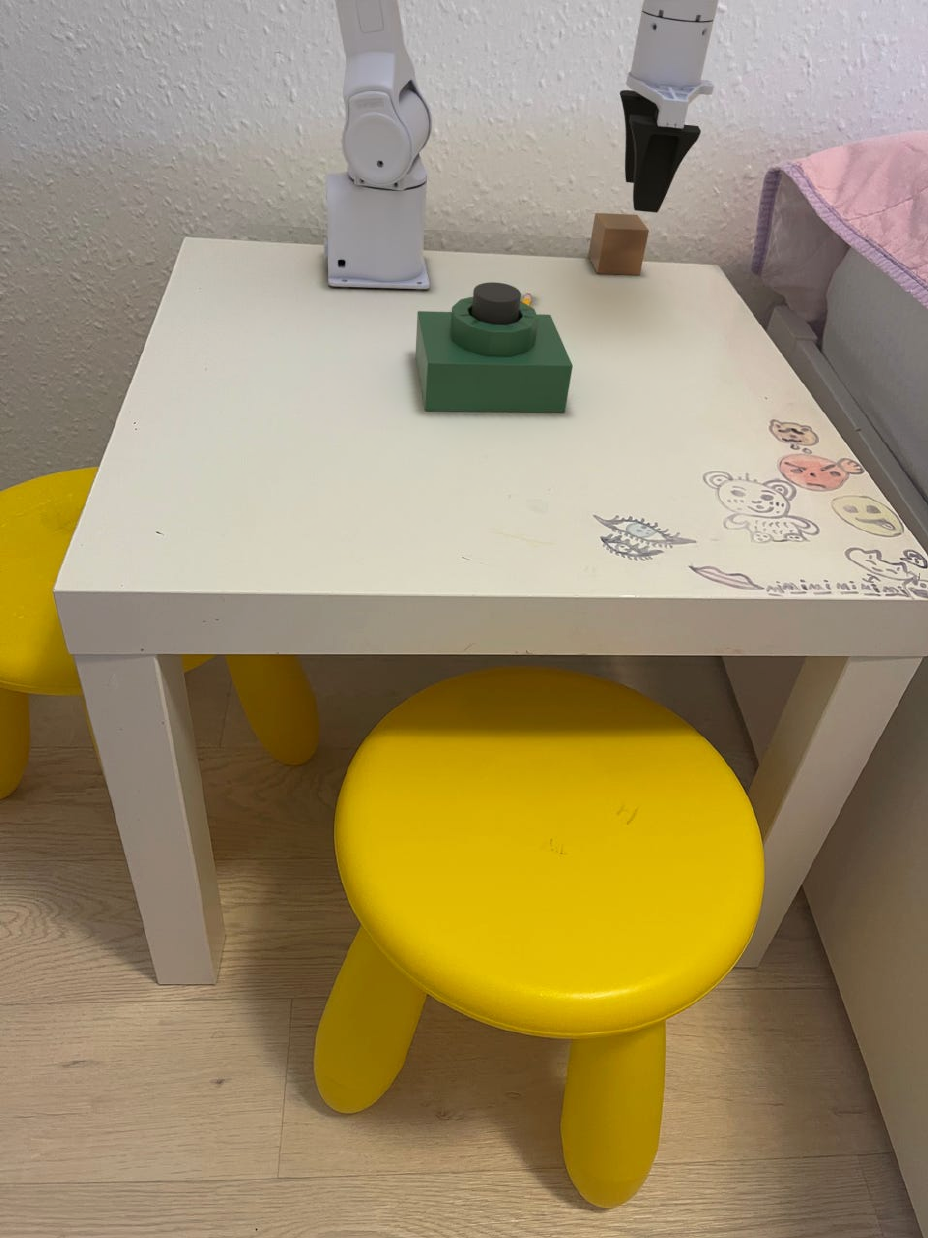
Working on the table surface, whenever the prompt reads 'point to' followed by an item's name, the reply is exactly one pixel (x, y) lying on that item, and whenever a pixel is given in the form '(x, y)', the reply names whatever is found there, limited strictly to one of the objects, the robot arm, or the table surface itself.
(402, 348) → the table surface
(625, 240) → the block
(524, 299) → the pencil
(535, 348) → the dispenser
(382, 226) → the robot arm
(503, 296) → the dark grey push button
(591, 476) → the table surface
